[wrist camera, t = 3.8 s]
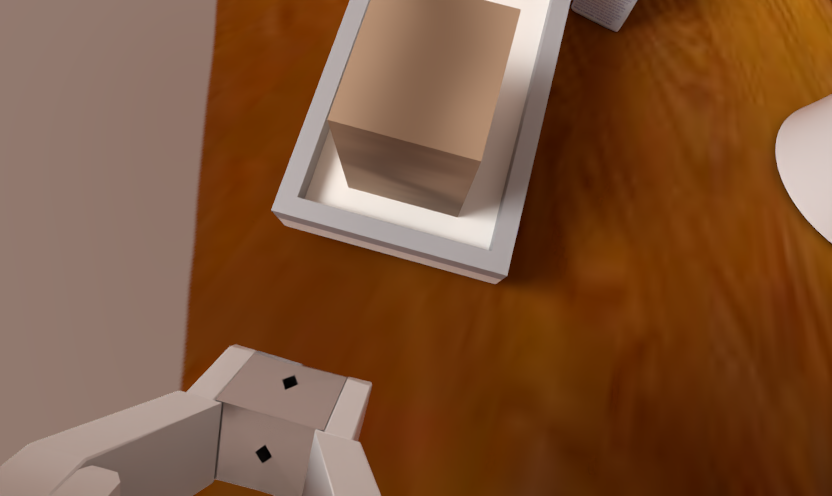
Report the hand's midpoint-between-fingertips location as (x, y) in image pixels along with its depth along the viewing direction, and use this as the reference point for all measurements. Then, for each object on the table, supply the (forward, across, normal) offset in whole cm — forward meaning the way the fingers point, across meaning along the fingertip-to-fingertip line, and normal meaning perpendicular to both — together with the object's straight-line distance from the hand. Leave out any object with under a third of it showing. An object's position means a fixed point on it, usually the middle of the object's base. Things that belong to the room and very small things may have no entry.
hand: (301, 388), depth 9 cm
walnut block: (+17, 0, -3) cm, 17 cm away
